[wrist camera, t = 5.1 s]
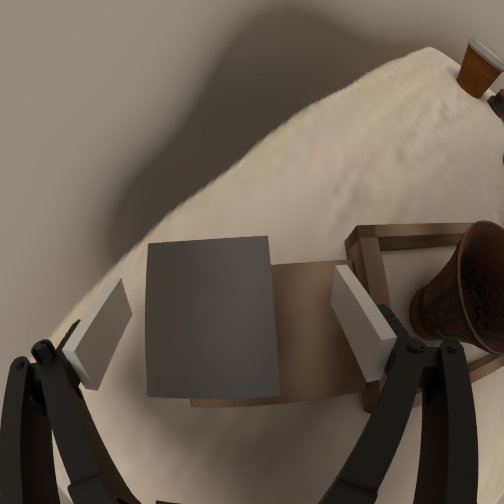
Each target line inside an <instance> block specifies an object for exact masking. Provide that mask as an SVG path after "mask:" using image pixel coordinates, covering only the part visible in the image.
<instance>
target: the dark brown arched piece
mask: <svg viewBox="0 0 504 504" xmlns="http://www.w3.org/2000/svg"><path fill="white" fill-rule="evenodd" d="M488 102H489V103H490V104H491V106H492V108H493V109H494V111H495V112H496V114H497V115H498V117H500V116H501V115H503V114H504V89H500V92H498V93H497V94H496V96H493V95H492V96H491V97H490V98H489V99H488Z"/></svg>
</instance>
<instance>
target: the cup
mask: <svg viewBox="0 0 504 504" xmlns="http://www.w3.org/2000/svg"><path fill="white" fill-rule="evenodd" d="M410 320H411V324H412V326H413V328H414V330H415V332H416V333H417V334H418V335H419V336H421V337H422V338H424V339H426V340H436V339H444V340H445V339H454V340H456V341H459V342H465V343H470V344H472V345H475V346H476V347H478V348H480V349H482V350H484V351H486V352H489V353H492V354H496V355H504V229H503V228H502V227H501V226H499V225H497V224H495V223H493V222H490V221H478V222H476V223H474V224H472V225H471V226H470V227H469V228H468V229H467V230H466V232H465V233H464V235H463V236H462V238H461V240H460V241H459V243H458V245H457V247H456V249H455V252H454V254H453V256H452V257H451V259H450V260H449V262H448V263H447V264H446V266H445V267H444V268H443V269H442V270H441V272H440V273H439V274H438V275H437V276H436V277H435V278H434V279H433V280H432V281H431V282H430V283H429V284H427V285H426V286H424V287H423V288H421V289H420V290H418V292H417V293H416V294H415V296H414V297H413V299H412V302H411V305H410Z"/></svg>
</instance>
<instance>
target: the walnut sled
mask: <svg viewBox="0 0 504 504" xmlns="http://www.w3.org/2000/svg"><path fill="white" fill-rule="evenodd" d="M472 224H474V223H431V224H388V225H357V226H356V227H355V229H354V230H353V231H352V233H351V234H350V235H349V237H348V238H347V239H346V240H345V244H346V249H347V255H348V260H336V261H322V262H308V263H294V264H279V265H270V254H269V243H268V236H254V237H238V238H222V239H206V240H191V241H177V242H163V243H150V244H148V255H147V272H146V297H145V350H146V374H147V390H148V396H149V397H163V398H183V399H190V406H191V407H237V406H257V405H270V404H281V403H291V402H299V401H307V400H314V399H320V398H326V397H332V396H338V395H343V394H348V393H353V392H358V391H363V390H364V411H366V412H368V413H370V414H372V411H373V409H374V407H375V405H376V403H377V400H378V398H379V396H380V394H381V390H382V388H383V386H384V384H385V382H386V379H387V375H386V373H385V371H384V373H383V375H382V378H381V379H380V380H375V381H371V382H366V380H365V377H364V375H363V373H362V370H361V368H360V366H359V364H358V361H357V359H356V357H355V355H354V353H353V350H352V348H351V346H350V344H349V342H348V339H347V337H346V335H345V333H344V331H343V329H342V326H341V324H340V322H339V320H338V318H337V316H336V314H335V312H334V310H333V308H332V306H331V298H332V289H333V280H334V271H335V266H336V265H348V267H349V268H350V270H351V271H352V272H353V274H354V275H355V276H356V278H357V279H358V281H359V282H360V283H361V285H362V286H363V288H364V289H365V290H366V292H367V293H368V295H369V296H370V298H371V299H372V300H373V302H374V303H375V305H381V304H384V305H385V306H387V307H388V308H390V309H391V306H390V299H389V293H388V287H387V282H386V276H385V271H384V266H383V261H382V256H381V251H380V250H390V249H404V248H418V247H432V246H445V245H458V243H459V241H460V240H461V238H462V236H463V235H464V233H465V232H466V230H467V229H468V228H469V227H470V226H471V225H472ZM502 366H504V355H496V354H490V355H488V356H486V357H484V358H482V359H480V360H478V361H475V362H473V363H471V364H469V365H468V370H469V375H470V381H471V383H473V382H475V381H477V380H479V379H480V378H482V377H484V376H486V375H488V374H490V373H492V372H493V371H495V370H497V369H499V368H500V367H502ZM419 405H422V388H418V389H417V393H416V396H415V399H414V403H413V406H412V408H414V407H417V406H419Z"/></svg>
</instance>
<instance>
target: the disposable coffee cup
mask: <svg viewBox="0 0 504 504" xmlns="http://www.w3.org/2000/svg"><path fill="white" fill-rule="evenodd" d="M502 72H504V60H503V59H502V58H501V57H500V56H499V55H498V54H497V53H496V52H494V50H492V49H491V48H490V47H489V46H487V45H486V44H484V43H483V42H482V41H480V40H478V39H477V38H475V37H471V38H470V39H468V47H467V50H466V54H465V57H464V60H463V63H462V66H461V69H460V72H459V74H458V77H457V82H458V84H459V85H460V86H461V87H462V88H463V89H464V90H465V91H466V92H468V93H469V94H470V95H472V96H473V97H475V98H480V97H481V96H482V95H483V93H484V92H485V91H486V90H487V89H488V88H489V87H490V85H491V84H492V83H493V82H494V81H495V80H496V79H497V77H498V76H499V75H500V74H501V73H502Z"/></svg>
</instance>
